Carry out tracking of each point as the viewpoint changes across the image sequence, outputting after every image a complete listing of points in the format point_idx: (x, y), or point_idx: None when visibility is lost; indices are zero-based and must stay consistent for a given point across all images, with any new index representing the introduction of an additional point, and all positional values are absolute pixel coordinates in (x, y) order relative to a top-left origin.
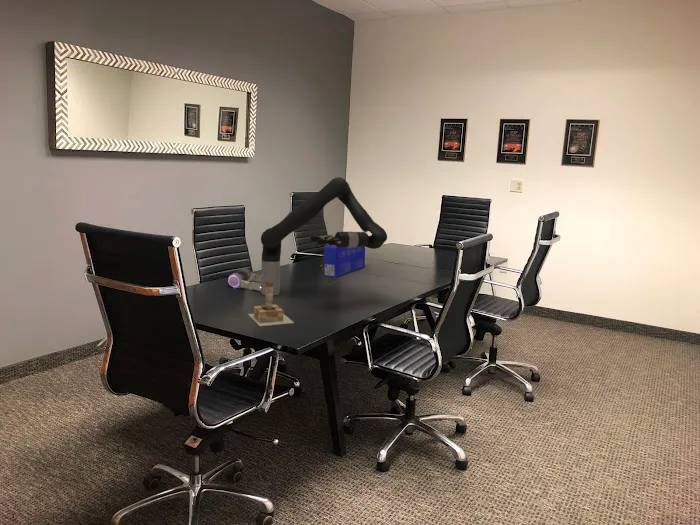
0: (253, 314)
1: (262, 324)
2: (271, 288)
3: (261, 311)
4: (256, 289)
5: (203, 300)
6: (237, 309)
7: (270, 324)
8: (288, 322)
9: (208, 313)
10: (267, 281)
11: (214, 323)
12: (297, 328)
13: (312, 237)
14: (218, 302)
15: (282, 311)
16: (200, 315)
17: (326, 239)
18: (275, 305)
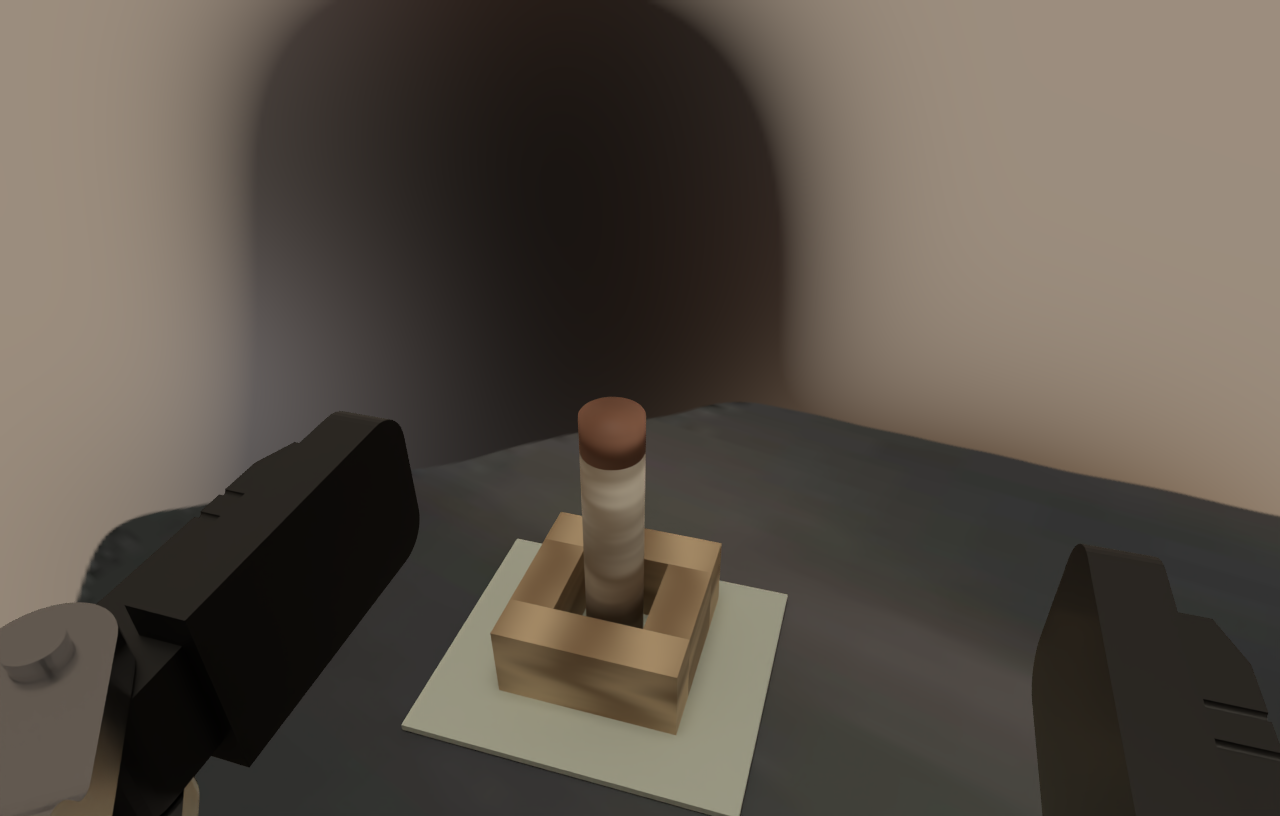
0: (760, 615)
1: (531, 561)
2: (580, 460)
3: (576, 524)
4: None
5: (1265, 546)
6: (954, 608)
7: (495, 591)
8: (439, 696)
9: (917, 470)
10: (631, 412)
11: (720, 434)
12: (309, 688)
13: (1077, 586)
14: (1192, 592)
15: (494, 631)
16: (892, 437)
17: (79, 604)
18: (653, 659)
